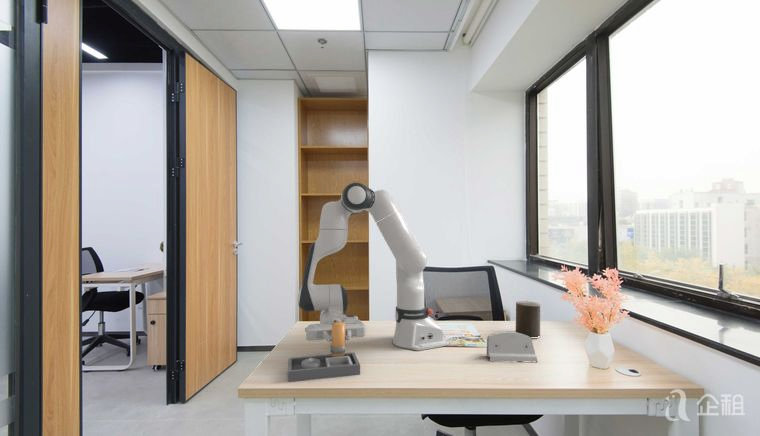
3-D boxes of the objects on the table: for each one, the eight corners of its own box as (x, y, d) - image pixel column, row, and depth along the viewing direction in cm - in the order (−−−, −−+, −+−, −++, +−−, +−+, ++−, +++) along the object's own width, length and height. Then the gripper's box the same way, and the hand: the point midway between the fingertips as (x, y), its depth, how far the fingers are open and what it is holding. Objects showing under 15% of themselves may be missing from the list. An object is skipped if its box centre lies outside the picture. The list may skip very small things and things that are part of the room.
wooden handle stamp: (344, 351, 116) (344, 321, 116) (346, 356, 111) (346, 325, 111) (329, 352, 114) (330, 321, 115) (331, 357, 110) (331, 326, 110)
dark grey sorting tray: (354, 360, 119) (354, 348, 120) (360, 374, 109) (360, 361, 109) (288, 367, 114) (288, 354, 114) (287, 381, 103) (288, 367, 104)
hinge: (489, 361, 120) (486, 331, 123) (486, 360, 124) (483, 331, 127) (538, 362, 119) (534, 331, 122) (533, 362, 123) (529, 332, 127)
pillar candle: (525, 339, 142) (525, 303, 142) (510, 332, 151) (511, 298, 152) (545, 338, 144) (545, 302, 144) (530, 331, 154) (530, 297, 154)
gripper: (304, 318, 123) (306, 330, 110) (361, 315, 128) (369, 326, 114) (304, 336, 123) (305, 350, 109) (361, 332, 128) (368, 345, 114)
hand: (338, 338), depth 112 cm, fingers closed on wooden handle stamp, 4 cm apart
